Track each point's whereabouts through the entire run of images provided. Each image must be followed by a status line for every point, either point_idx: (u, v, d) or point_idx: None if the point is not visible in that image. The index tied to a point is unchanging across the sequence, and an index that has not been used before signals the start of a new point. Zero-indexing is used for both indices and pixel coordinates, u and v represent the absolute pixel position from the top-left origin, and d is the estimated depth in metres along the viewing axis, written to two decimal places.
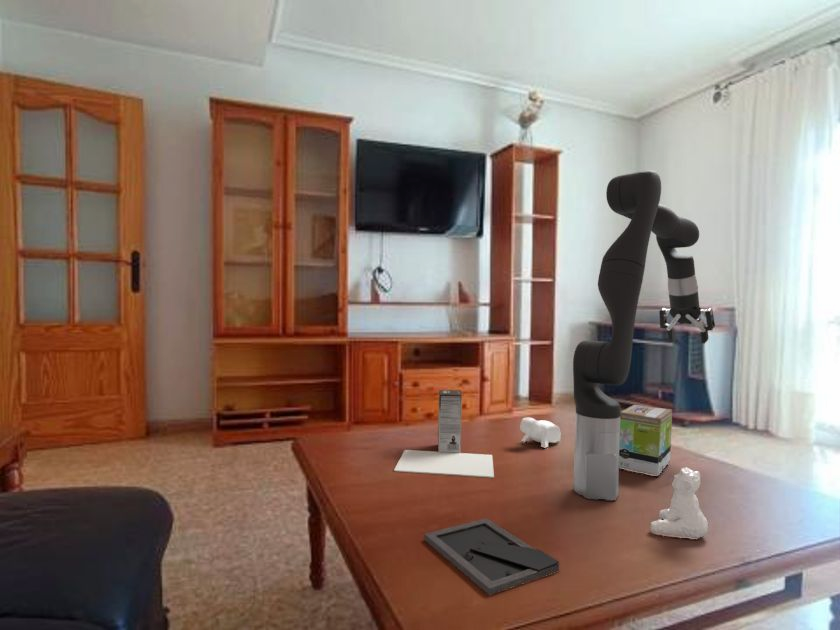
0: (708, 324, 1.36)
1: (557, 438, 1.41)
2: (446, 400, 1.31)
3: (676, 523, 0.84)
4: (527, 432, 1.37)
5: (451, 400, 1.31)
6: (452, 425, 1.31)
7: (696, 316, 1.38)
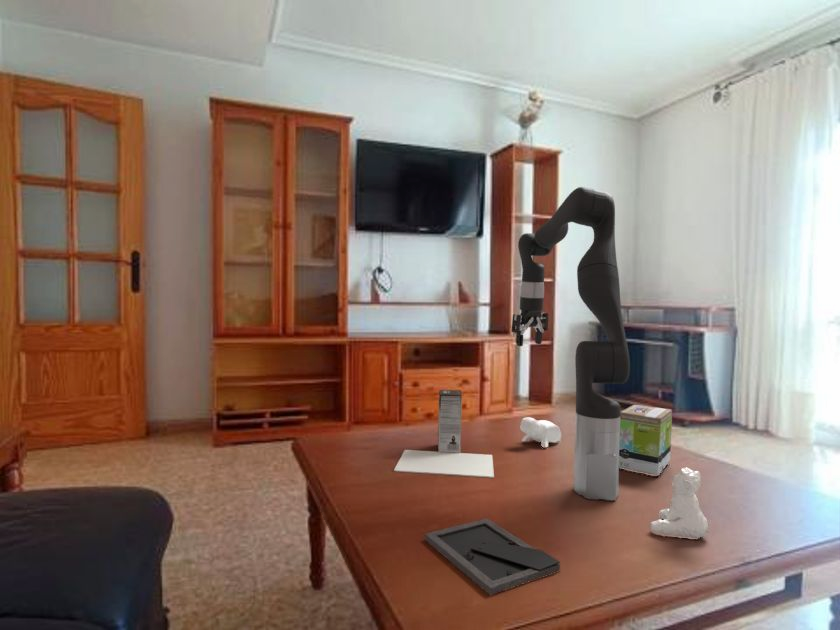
0: (546, 325, 1.58)
1: (557, 438, 1.42)
2: (446, 400, 1.31)
3: (676, 523, 0.84)
4: (527, 432, 1.37)
5: (451, 400, 1.31)
6: (452, 425, 1.31)
7: (539, 319, 1.57)
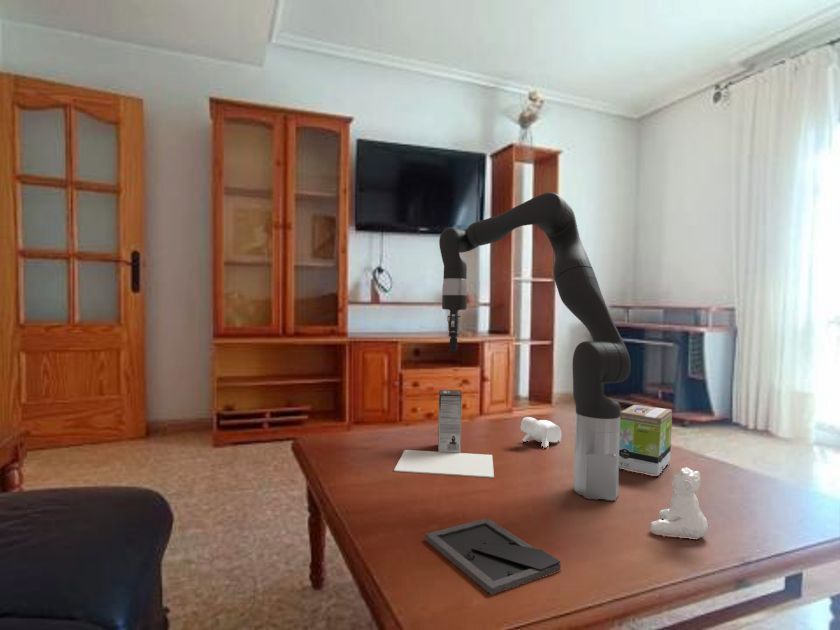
0: None
1: (558, 438, 1.42)
2: (446, 400, 1.31)
3: (676, 523, 0.84)
4: (527, 432, 1.37)
5: (451, 400, 1.31)
6: (452, 425, 1.31)
7: None
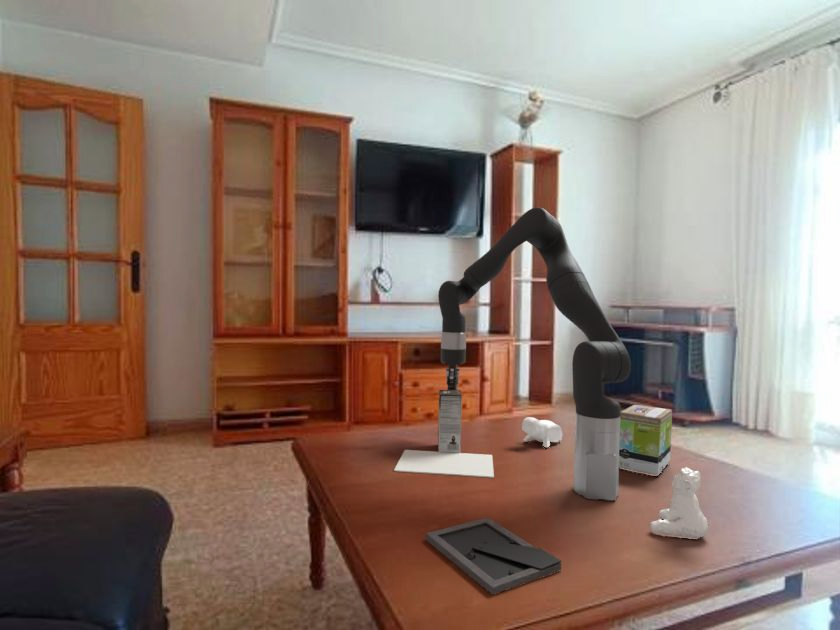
0: None
1: (559, 438, 1.42)
2: (446, 400, 1.31)
3: (676, 523, 0.84)
4: (529, 432, 1.37)
5: (451, 400, 1.31)
6: (452, 425, 1.31)
7: None
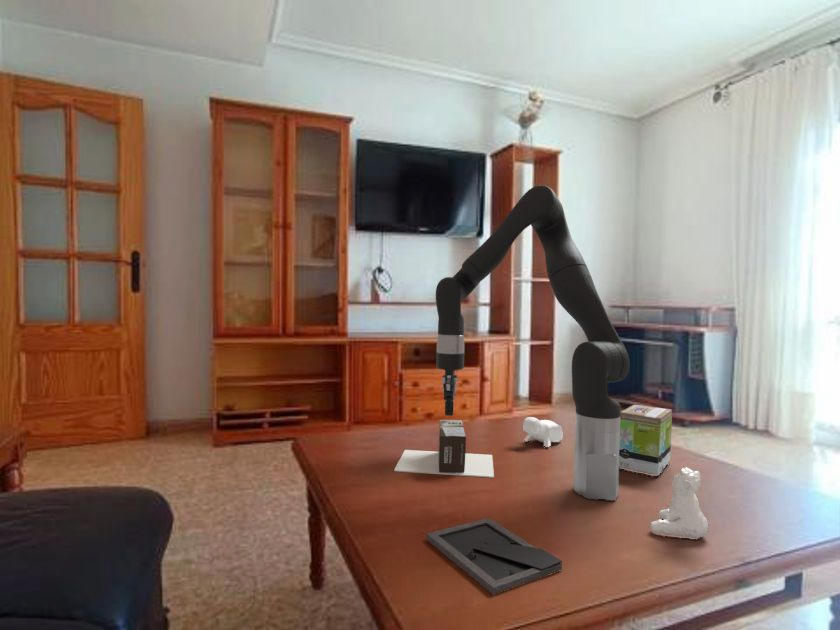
0: None
1: (559, 437, 1.42)
2: None
3: (676, 523, 0.84)
4: (530, 432, 1.37)
5: None
6: None
7: None
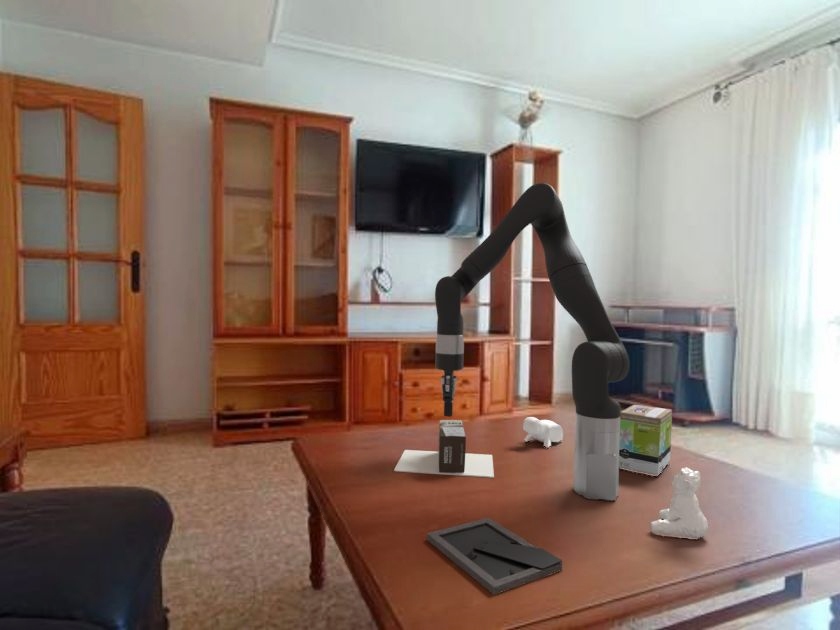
0: None
1: (559, 437, 1.42)
2: None
3: (676, 523, 0.84)
4: (530, 431, 1.37)
5: None
6: None
7: None
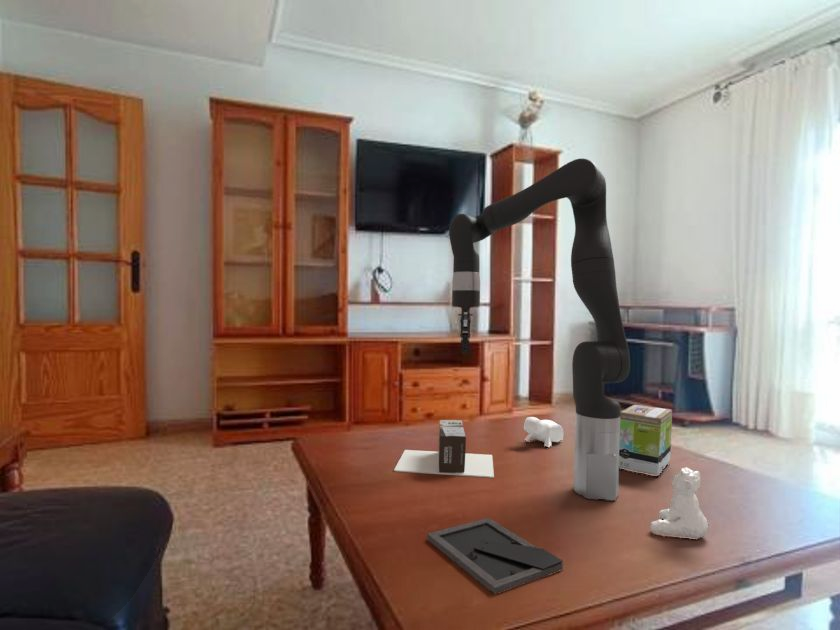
0: None
1: (560, 437, 1.42)
2: None
3: (676, 523, 0.84)
4: (531, 431, 1.37)
5: None
6: None
7: None
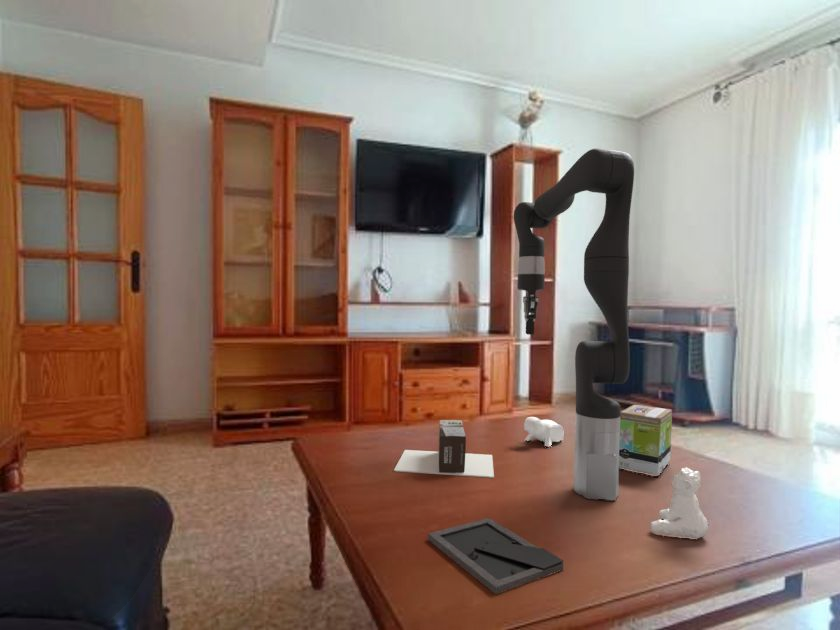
0: None
1: (560, 437, 1.43)
2: None
3: (676, 523, 0.84)
4: (531, 431, 1.38)
5: None
6: None
7: None
